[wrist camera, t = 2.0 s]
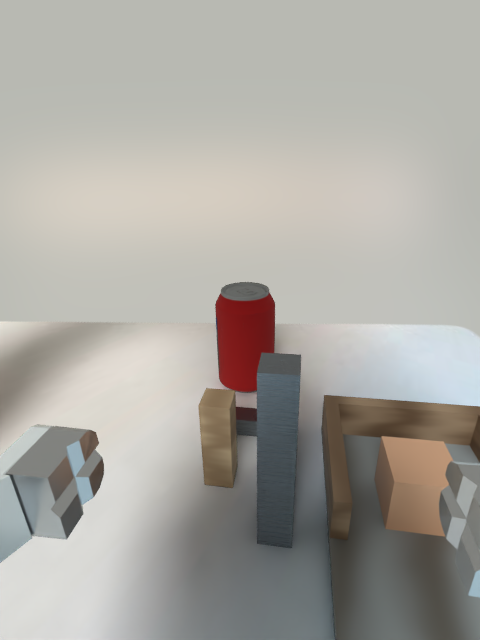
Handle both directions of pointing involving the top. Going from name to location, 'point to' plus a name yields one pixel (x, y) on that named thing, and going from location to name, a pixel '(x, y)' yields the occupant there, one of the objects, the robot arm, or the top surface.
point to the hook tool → (274, 444)
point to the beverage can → (243, 333)
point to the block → (411, 483)
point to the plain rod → (218, 437)
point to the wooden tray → (391, 545)
